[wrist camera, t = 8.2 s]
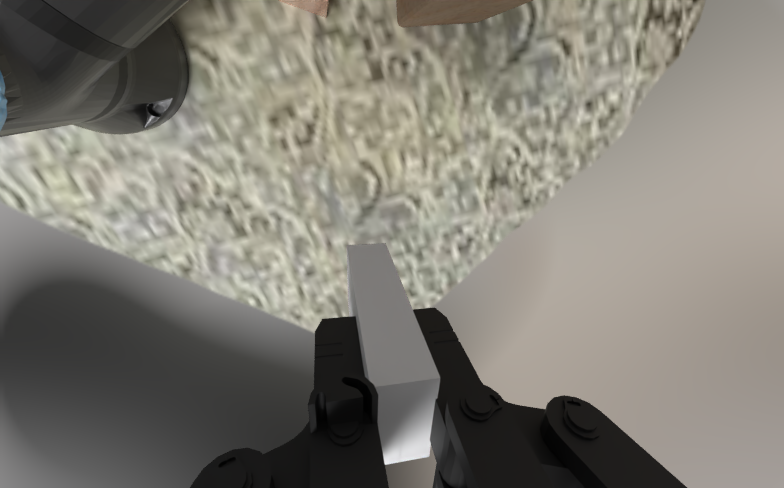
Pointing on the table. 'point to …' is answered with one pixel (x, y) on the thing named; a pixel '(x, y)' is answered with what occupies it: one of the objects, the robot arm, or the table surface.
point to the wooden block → (450, 11)
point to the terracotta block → (310, 5)
